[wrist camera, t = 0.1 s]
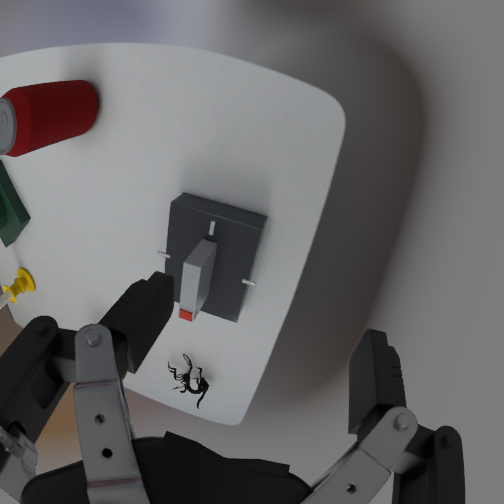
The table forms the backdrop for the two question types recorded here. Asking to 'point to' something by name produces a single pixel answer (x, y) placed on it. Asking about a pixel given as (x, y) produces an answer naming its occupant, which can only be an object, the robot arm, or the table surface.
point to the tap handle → (196, 279)
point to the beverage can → (45, 115)
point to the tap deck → (227, 253)
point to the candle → (17, 287)
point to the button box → (10, 210)
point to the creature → (187, 379)
